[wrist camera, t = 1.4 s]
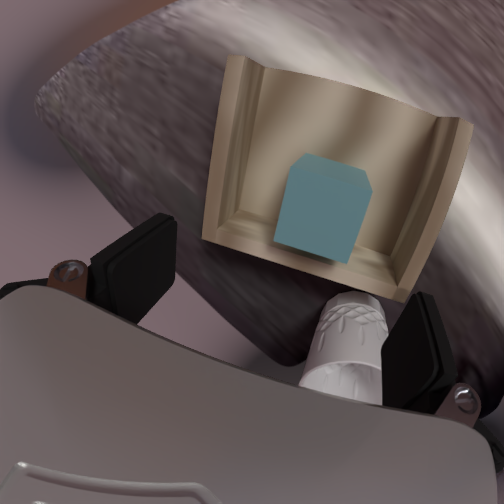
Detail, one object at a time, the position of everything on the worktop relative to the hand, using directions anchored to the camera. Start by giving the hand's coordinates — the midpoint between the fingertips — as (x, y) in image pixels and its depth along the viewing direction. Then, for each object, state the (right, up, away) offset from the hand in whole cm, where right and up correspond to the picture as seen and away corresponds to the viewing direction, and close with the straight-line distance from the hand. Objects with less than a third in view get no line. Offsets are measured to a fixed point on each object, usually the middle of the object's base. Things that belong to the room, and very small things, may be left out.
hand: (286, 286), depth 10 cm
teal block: (+5, +6, +12) cm, 15 cm away
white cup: (+9, -5, +18) cm, 21 cm away
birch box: (+6, +8, +12) cm, 15 cm away
